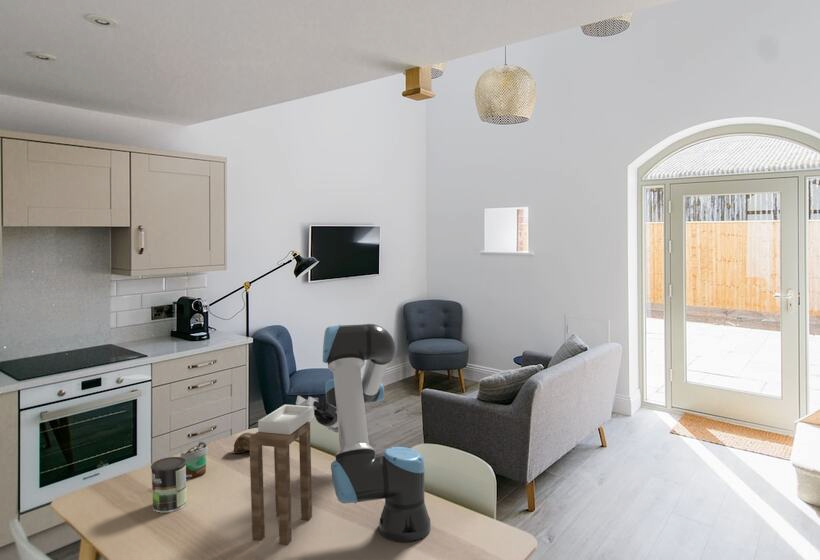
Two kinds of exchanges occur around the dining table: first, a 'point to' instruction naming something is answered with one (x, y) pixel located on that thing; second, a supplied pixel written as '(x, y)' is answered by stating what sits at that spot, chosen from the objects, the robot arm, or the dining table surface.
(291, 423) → the sliding tray
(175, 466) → the coffee can
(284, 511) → the walnut stand
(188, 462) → the food container
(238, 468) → the dining table surface
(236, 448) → the seashell
